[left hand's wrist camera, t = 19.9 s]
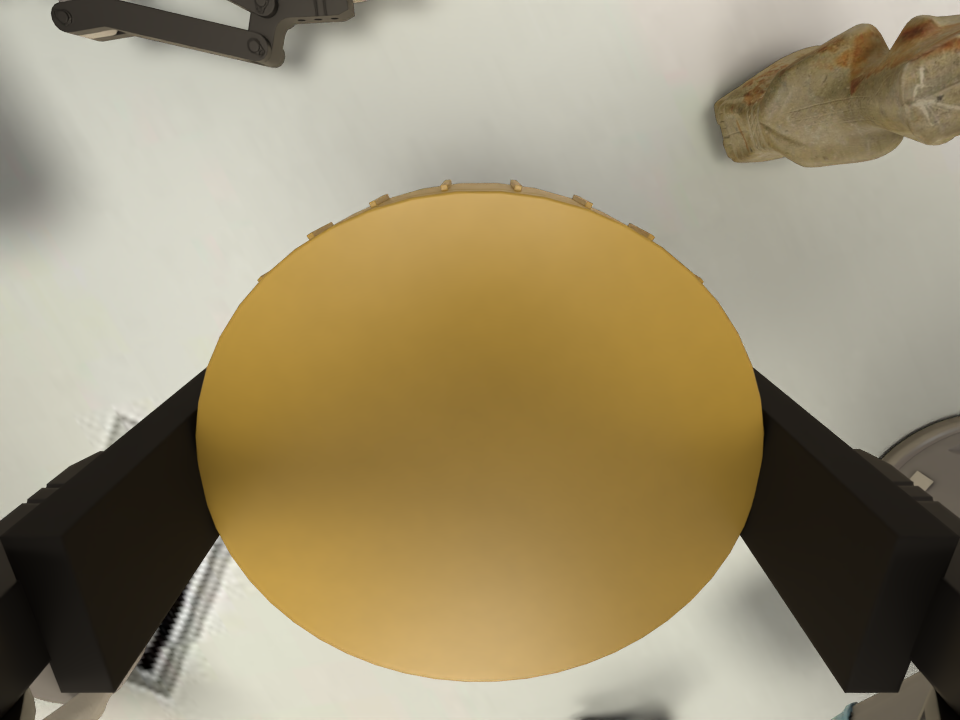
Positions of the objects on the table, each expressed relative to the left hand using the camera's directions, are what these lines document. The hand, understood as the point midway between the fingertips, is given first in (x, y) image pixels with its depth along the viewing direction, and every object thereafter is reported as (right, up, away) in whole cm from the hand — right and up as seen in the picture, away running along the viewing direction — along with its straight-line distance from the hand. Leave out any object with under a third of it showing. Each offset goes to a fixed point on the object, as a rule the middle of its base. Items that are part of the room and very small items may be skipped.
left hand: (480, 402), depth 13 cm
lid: (0, -1, -3) cm, 3 cm away
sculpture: (+17, +16, +20) cm, 31 cm away
